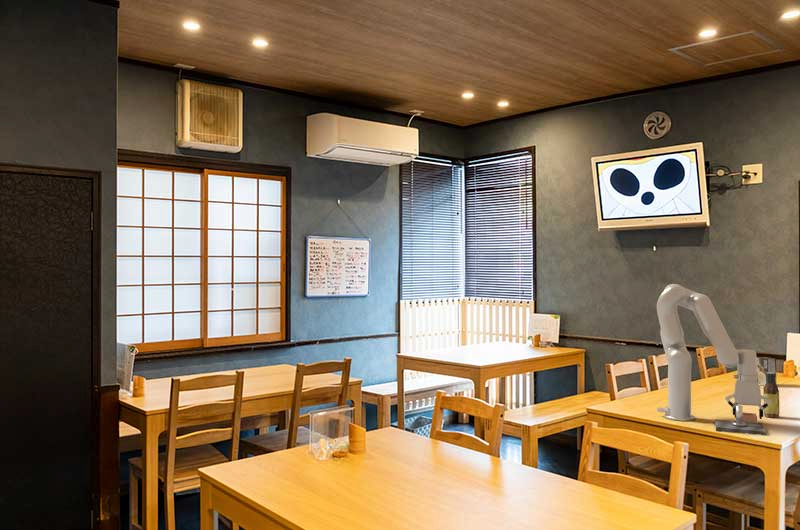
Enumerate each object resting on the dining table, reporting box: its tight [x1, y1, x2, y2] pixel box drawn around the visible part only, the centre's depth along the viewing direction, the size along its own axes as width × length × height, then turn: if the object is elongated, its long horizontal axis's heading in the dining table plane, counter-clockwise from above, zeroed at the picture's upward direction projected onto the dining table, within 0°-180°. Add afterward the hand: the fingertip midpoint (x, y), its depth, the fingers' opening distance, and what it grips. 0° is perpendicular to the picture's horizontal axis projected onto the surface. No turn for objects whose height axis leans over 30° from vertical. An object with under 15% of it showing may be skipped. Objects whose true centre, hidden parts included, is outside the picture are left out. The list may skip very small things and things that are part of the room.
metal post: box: [731, 404, 747, 427], centre depth 273 cm, size 6×6×8 cm
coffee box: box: [756, 356, 777, 386], centre depth 380 cm, size 9×6×16 cm
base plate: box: [714, 419, 767, 436], centre depth 273 cm, size 18×16×2 cm
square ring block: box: [742, 411, 758, 423], centre depth 285 cm, size 7×7×4 cm
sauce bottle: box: [762, 372, 780, 419], centre depth 296 cm, size 7×6×20 cm
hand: (747, 417), depth 285 cm, fingers open, 9 cm apart
